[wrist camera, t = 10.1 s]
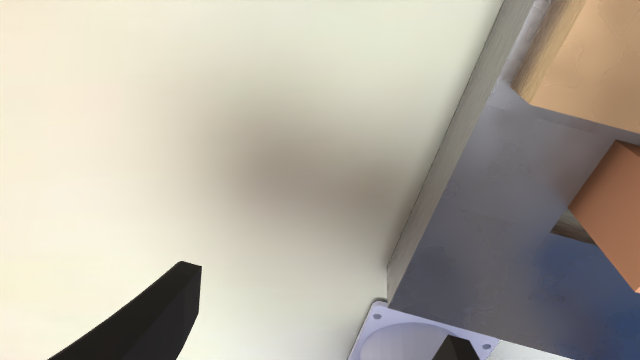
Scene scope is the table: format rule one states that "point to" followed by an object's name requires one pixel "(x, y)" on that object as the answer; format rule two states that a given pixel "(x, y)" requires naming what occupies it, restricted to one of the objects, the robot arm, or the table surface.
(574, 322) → the bracket plate
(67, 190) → the table surface
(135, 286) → the table surface
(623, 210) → the light brown rectangular block
